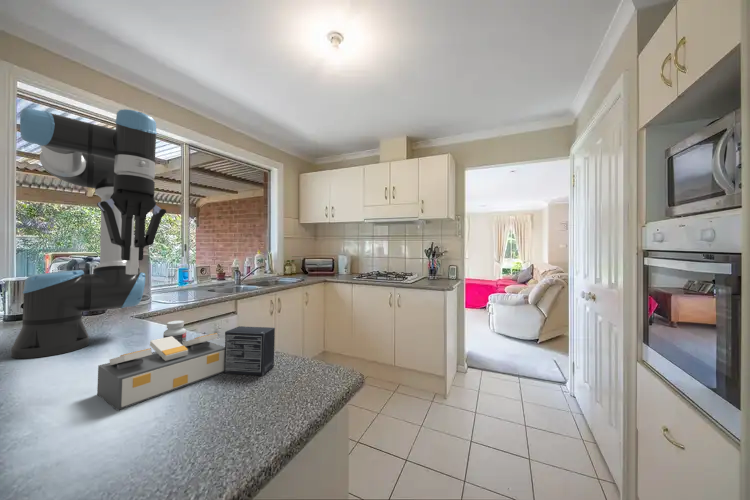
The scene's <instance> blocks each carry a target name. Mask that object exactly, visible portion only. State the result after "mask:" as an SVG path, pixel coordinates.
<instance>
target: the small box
mask: <svg viewBox="0 0 750 500" xmlns="http://www.w3.org/2000/svg"><path fill="white" fill-rule="evenodd" d="M275 330H276V328H275V327H265V326H263V327H262V326H245V325H244V326H240V325H239V326H236V327H234V328H231V329H229V330H226V331H225V332H224V337H225V338H224V341H225V343H224V347H225V362H224V363H225V364H224V372H223V373H224V374H226V375H227V374H229V375H246V376H261V377H262V376H264V375H265V374H266V373H268V372H269V371H270V370H272V368H274V367H275V337H276V336H275V334H276V333H275Z"/></svg>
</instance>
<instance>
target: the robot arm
mask: <svg viewBox="0 0 750 500" xmlns="http://www.w3.org/2000/svg"><path fill="white" fill-rule="evenodd" d="M114 123H115V128H112V127H111V128H110V127H106V126H102V125H99V124H96V123H90V122H86V121H82V120H79V119H75V118H71V117H67V116H65V115H64V116H63V115H59V114H56V113H52V112H49V111H46V110H45V111H44V110H39V109H33V108H30V107H25V108H23V109H22V110H21V111H20V116H19V130H20V137H21V139H22V140H23V141H24V142H27V143H29V144H30V143H31V144H35V145H38V146H40V149H41V151H40V154H39V162H40V164H41V166H42V167H43V169H44V170H45V171H46V172H47V173H49V174H50V175H52V176H54V177H55V178H57V179H59V180H61V181H63V182H66V183H68V184H71V185H75V186H78V187H83V188H89V189H90V188H91V189H94V192H95V193H94V194H95V195H96V196H98V197H99V198H100V200H101V201H98V202H96V203H97V204H96V206H97V207H98V209H99V210H100V236H99V237H100V240H99V241H100V244H99V248H100V249H99V264H98V265H97V266H95V267H94V268H93V269H92V271H93V272H92V273H91V274H89V273H87V274H86V273H85V272H84V270H83V269H74V270H61V271H54V272H46V273H45V272H43V273H38V274H33V275H30V276H28V277H27V278H26V279H25V281H24V286H23V291H22V294H23V306H22V307H23V308H22V327H21V328H20V331H19V332H18V335H17V337H16V338H15V341H14V342H13V344H12V346H11V348H10V349H11V350H10V357H11V358H13V359H14V358H15V359H34V358H41V357H42V358H43V357H50V356H55V355H60V354H65V353H70V352H74V351H78V350H81V349H82V348H85V347H87V346H88V345H89V343H90V336H89V334H88V332H87V329H86V328H85V325H84V323H83V312H91V311H99V310H111V309H123V308H132V307H135V306H138V305H140V303H141V301H142V298H143V295H144V292H145V286H146V273H145V272H140V269H141V268H140V266H139V261H143V259H144V249H145V248H146V247H147V246H152V245H153V244H154V241H155V239H156V236H157V232H158V229H159V226H160V223H161V221H162V218H163V217H164V216H165V214H166V213H167V209H165V208H161V207H160V206H158V205H157V202H156V200H155V188H156V186H155V181H154V179H156V178H155V177H156V147H157V146H156V145H157V135H158V132H157V122H156V120H155V119H154V118H153V117H152V116H150V115H149V114H146V113H143V112H140V111H137V110H135V109H134V110H133V109H127V108H126V109H125V108H124V109H119V110H118V111H117V113H116V118H115V121H114ZM150 212H152V216H151V219H150V221H149V224H148V227H147V231H146V220H147V215H148V214H149V213H150Z"/></svg>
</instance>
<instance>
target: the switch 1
mask: <svg viewBox="0 0 750 500" xmlns="http://www.w3.org/2000/svg"><path fill="white" fill-rule="evenodd" d="M152 352H153V351H152V347H151V348H144V349H141V350H137V351H133V352H129V353H124V354H121V355H119V356H117V357H113V358H110V359H109V363H110V365H114V364H118V363H122V362H126V361H130V360H134V359H138V358H141V357H145V356H149V355H152Z"/></svg>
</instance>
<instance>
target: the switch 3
mask: <svg viewBox="0 0 750 500" xmlns="http://www.w3.org/2000/svg"><path fill="white" fill-rule="evenodd" d="M216 339H219V334H218V333H217V332H215V333H210V334H206V335H201V336H197V337H194V338H192V339H189V340H186V342H183V346H185V347H186V346H190V345H194V344H198V343H202V342H206V341H208V342H210V341H213V340H216Z"/></svg>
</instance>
